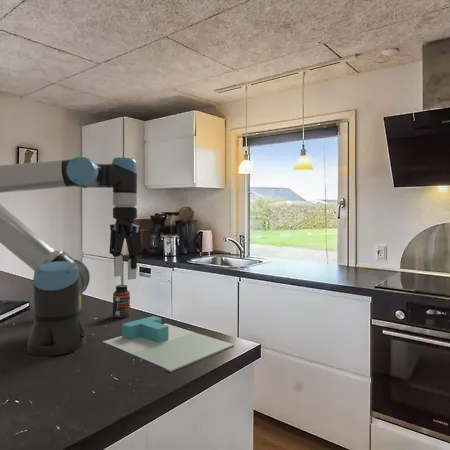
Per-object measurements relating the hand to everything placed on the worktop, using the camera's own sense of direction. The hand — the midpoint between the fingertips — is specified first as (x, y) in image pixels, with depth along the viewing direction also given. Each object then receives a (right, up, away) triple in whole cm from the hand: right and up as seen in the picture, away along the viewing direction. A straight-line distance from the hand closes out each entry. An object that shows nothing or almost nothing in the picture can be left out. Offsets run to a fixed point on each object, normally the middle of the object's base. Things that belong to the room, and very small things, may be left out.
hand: (125, 277), depth 125 cm
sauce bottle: (-25, -16, +19) cm, 36 cm away
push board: (+16, -18, -13) cm, 27 cm away
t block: (+10, -17, -8) cm, 21 cm away
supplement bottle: (-5, -17, +16) cm, 24 cm away
